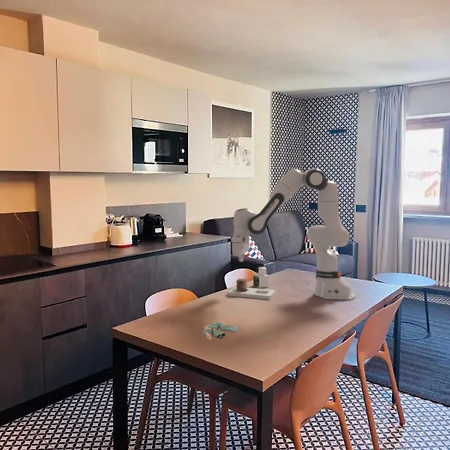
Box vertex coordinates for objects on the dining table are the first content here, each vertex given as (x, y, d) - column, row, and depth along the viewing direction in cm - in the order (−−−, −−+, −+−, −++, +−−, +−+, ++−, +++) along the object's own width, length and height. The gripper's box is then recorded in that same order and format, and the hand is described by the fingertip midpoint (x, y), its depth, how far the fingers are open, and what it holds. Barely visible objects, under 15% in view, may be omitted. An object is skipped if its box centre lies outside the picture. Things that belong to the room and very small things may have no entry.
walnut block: (246, 293, 242) (246, 279, 241) (244, 295, 238) (244, 281, 237) (239, 292, 244) (239, 278, 243) (236, 294, 240) (236, 280, 239)
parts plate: (275, 293, 240) (275, 290, 240) (270, 299, 228) (270, 296, 228) (234, 289, 249) (234, 286, 249) (226, 295, 237) (226, 292, 237)
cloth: (216, 321, 195) (216, 316, 195) (255, 332, 181) (255, 327, 181) (185, 334, 179) (185, 328, 179) (225, 347, 166) (225, 341, 165)
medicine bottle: (253, 285, 259) (253, 266, 258) (263, 284, 262) (263, 265, 261) (258, 288, 253) (258, 268, 251) (269, 286, 256) (269, 267, 254)
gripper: (241, 234, 248) (241, 257, 250) (230, 239, 229) (230, 264, 231) (252, 235, 246) (252, 258, 247) (241, 239, 227) (241, 265, 228)
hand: (241, 261), depth 239 cm, fingers closed
